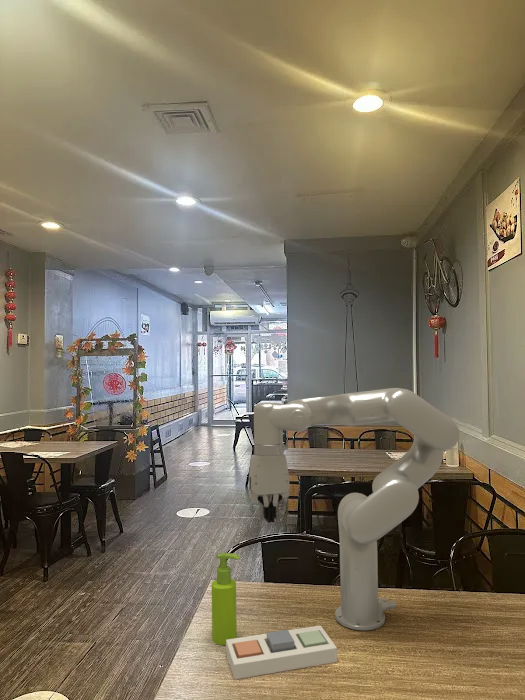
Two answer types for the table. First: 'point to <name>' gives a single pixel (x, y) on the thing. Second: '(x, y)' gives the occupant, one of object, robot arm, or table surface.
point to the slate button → (280, 641)
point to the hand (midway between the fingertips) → (269, 520)
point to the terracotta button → (247, 649)
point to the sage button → (311, 639)
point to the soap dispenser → (224, 602)
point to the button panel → (280, 655)
